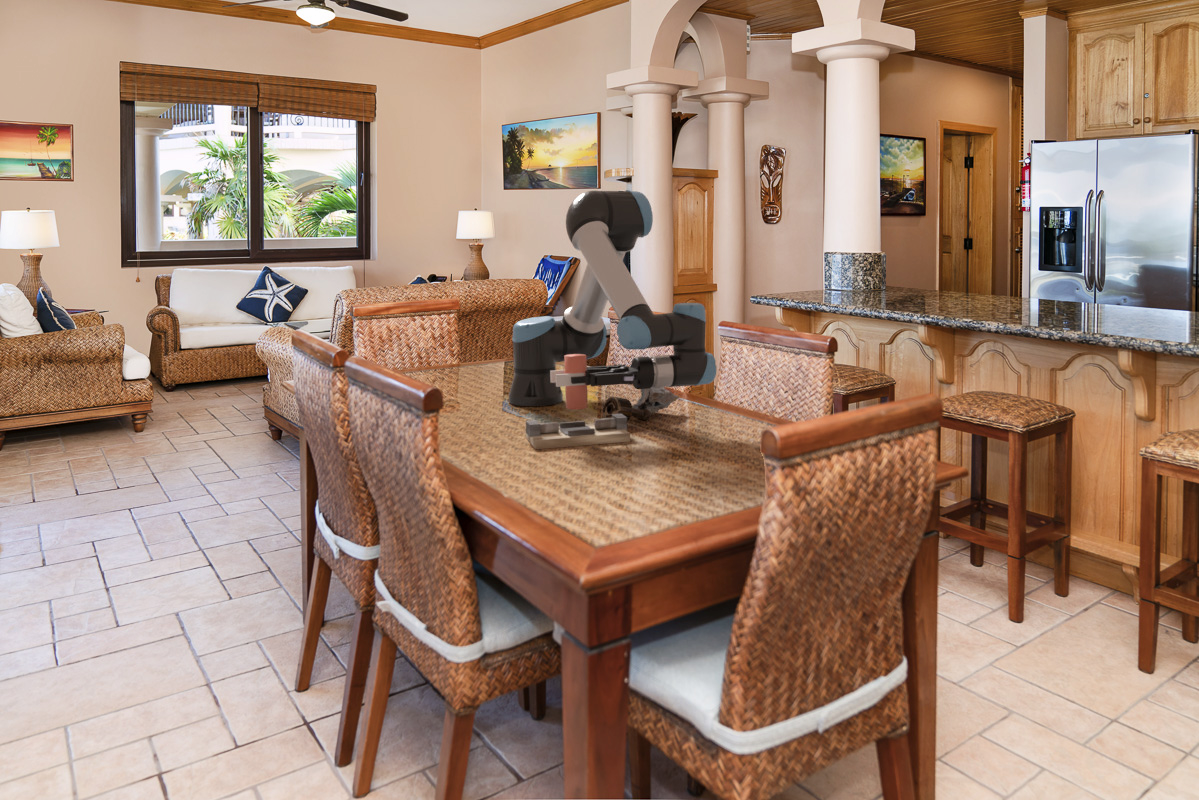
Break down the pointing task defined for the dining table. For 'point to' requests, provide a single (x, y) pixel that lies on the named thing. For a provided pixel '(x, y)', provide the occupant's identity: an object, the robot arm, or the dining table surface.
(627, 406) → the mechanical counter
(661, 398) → the mineral specimen
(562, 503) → the dining table surface
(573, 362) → the red tall block
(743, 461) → the dining table surface
